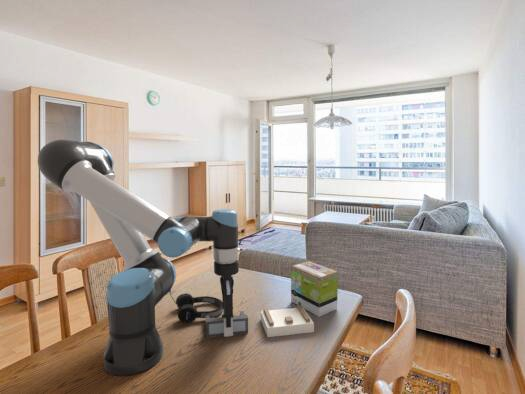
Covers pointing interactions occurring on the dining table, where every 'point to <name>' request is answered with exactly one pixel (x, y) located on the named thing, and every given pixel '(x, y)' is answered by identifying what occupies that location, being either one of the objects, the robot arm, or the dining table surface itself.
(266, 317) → the stand
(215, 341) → the dining table surface
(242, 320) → the glasses
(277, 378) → the dining table surface
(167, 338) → the dining table surface
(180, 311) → the headset
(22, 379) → the dining table surface
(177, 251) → the robot arm
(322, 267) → the tea box
